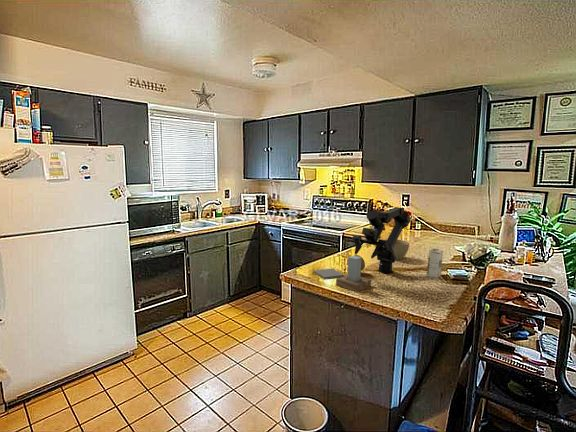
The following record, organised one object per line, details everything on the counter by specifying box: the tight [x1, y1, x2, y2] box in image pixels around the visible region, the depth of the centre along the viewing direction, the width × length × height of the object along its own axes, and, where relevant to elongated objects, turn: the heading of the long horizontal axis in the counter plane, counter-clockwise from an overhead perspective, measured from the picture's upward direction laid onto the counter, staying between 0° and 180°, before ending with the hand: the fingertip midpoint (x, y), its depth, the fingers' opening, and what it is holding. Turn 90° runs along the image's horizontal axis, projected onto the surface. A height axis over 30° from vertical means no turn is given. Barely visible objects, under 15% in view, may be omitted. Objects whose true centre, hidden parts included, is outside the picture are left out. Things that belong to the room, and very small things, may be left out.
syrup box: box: [426, 248, 444, 279], centre depth 175 cm, size 6×6×14 cm
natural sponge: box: [352, 254, 366, 271], centre depth 179 cm, size 9×9×10 cm
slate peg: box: [347, 255, 362, 282], centre depth 158 cm, size 4×4×14 cm
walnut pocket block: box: [335, 274, 372, 293], centre depth 158 cm, size 12×12×3 cm
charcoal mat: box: [312, 267, 345, 280], centre depth 175 cm, size 12×12×1 cm
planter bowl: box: [385, 238, 411, 261], centre depth 212 cm, size 16×16×11 cm
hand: (363, 256), depth 162 cm, fingers open, 9 cm apart
